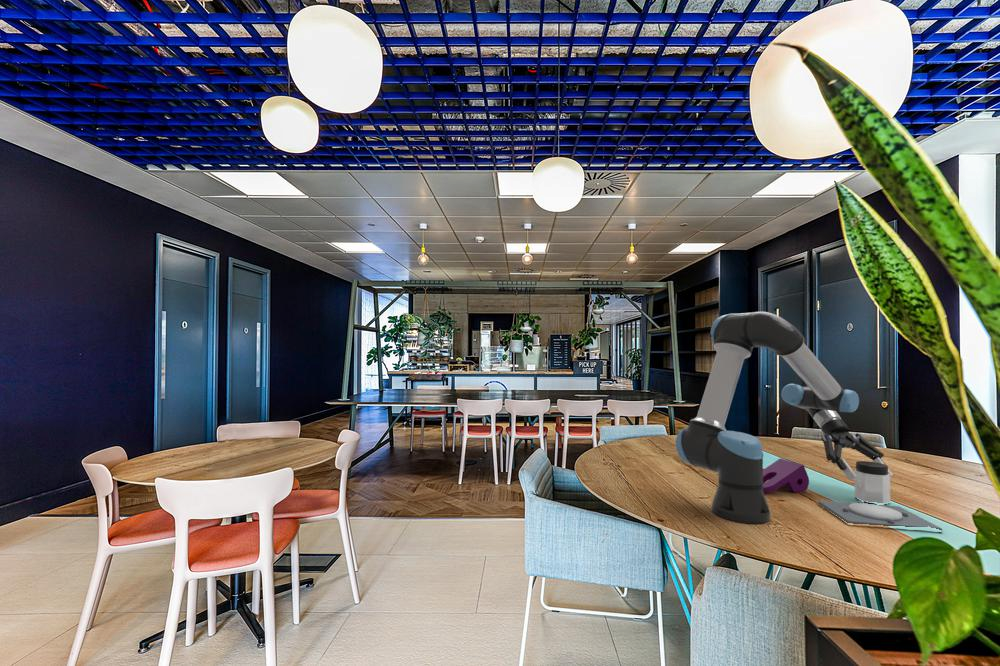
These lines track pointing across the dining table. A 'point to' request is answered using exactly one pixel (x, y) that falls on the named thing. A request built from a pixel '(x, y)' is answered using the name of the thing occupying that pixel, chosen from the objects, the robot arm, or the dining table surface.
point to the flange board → (875, 514)
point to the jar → (872, 482)
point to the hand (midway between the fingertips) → (871, 477)
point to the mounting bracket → (785, 476)
